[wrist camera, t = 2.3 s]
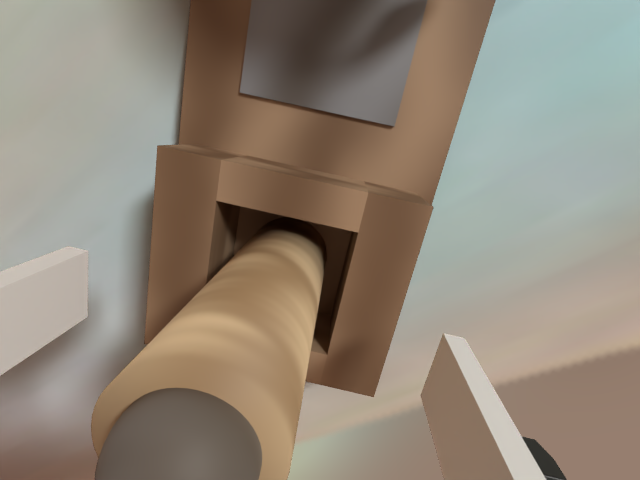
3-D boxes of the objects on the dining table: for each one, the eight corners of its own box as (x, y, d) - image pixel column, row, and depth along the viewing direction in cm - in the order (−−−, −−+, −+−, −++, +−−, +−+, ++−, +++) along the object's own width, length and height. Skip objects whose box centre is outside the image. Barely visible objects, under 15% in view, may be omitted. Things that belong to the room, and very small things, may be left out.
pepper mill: (246, 280, 20) (19, 596, 6) (257, 209, 19) (4, 408, 5) (318, 296, 20) (251, 652, 6) (334, 226, 19) (296, 477, 5)
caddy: (172, 296, 22) (125, 339, 18) (211, -124, 16) (152, -237, 11) (383, 344, 22) (392, 401, 17) (508, -62, 16) (578, -149, 11)
